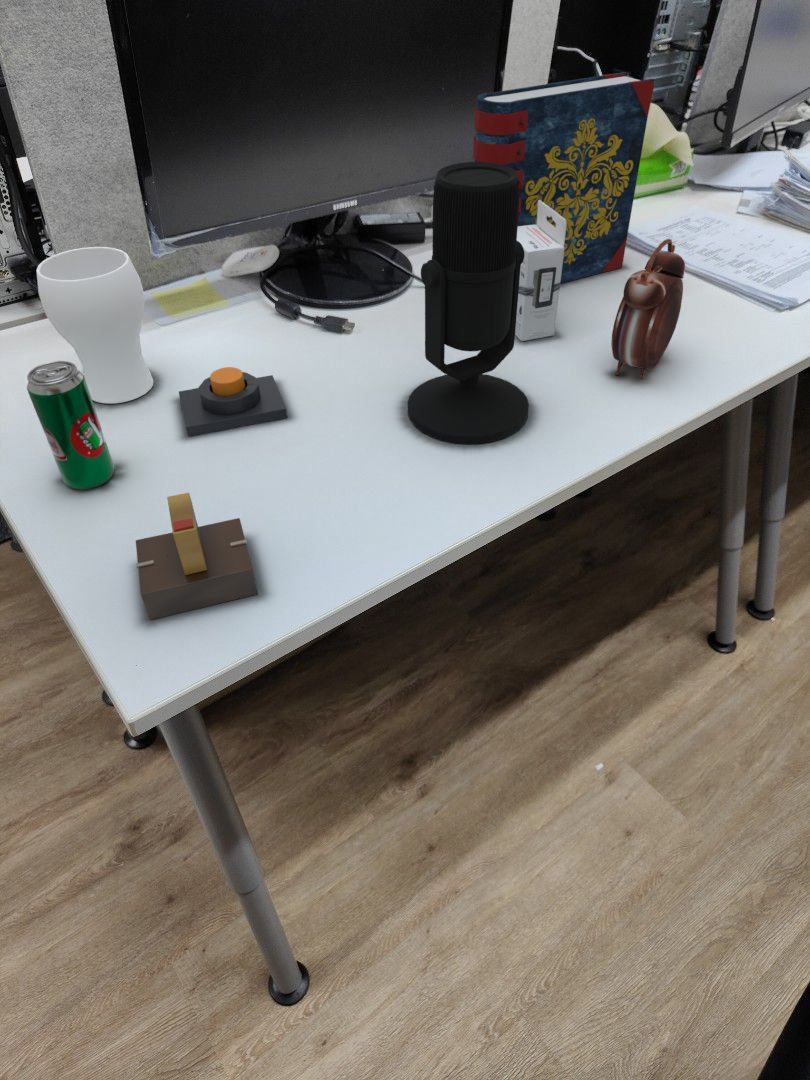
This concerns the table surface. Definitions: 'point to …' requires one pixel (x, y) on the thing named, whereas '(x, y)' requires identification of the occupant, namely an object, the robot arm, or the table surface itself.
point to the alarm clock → (649, 310)
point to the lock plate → (179, 592)
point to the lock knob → (186, 533)
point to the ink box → (540, 274)
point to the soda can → (70, 424)
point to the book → (572, 158)
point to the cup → (99, 318)
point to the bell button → (227, 381)
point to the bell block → (231, 406)
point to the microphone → (471, 306)
